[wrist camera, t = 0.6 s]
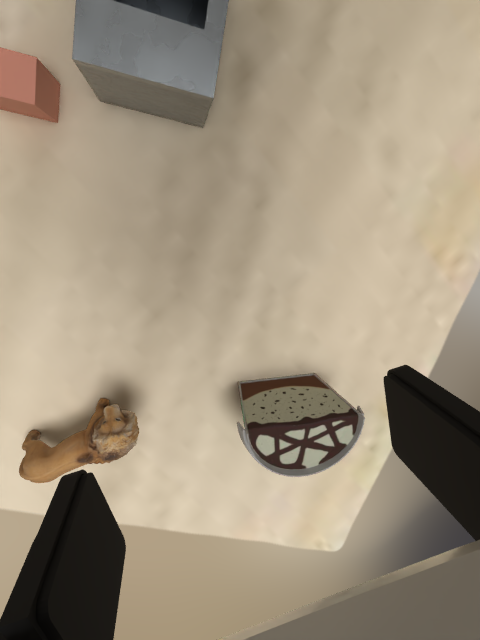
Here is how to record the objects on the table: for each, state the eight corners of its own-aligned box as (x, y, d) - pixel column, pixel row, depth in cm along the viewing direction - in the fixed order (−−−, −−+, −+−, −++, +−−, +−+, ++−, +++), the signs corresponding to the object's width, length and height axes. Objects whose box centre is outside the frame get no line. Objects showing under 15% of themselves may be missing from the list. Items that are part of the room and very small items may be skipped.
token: (0, 68, 29) (-37, 37, 24) (60, 84, 30) (36, 57, 25) (0, 109, 30) (-37, 87, 24) (58, 123, 31) (34, 104, 25)
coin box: (114, -69, 28) (88, -194, 19) (226, -28, 30) (248, -125, 21) (100, 101, 31) (72, 58, 22) (203, 127, 33) (213, 98, 24)
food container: (227, 429, 42) (242, 491, 33) (225, 383, 41) (240, 434, 31) (324, 416, 44) (365, 471, 35) (326, 371, 43) (370, 417, 33)
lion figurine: (126, 368, 38) (113, 414, 30) (155, 404, 40) (150, 456, 31) (11, 441, 38) (-35, 507, 30) (45, 473, 40) (10, 544, 31)
